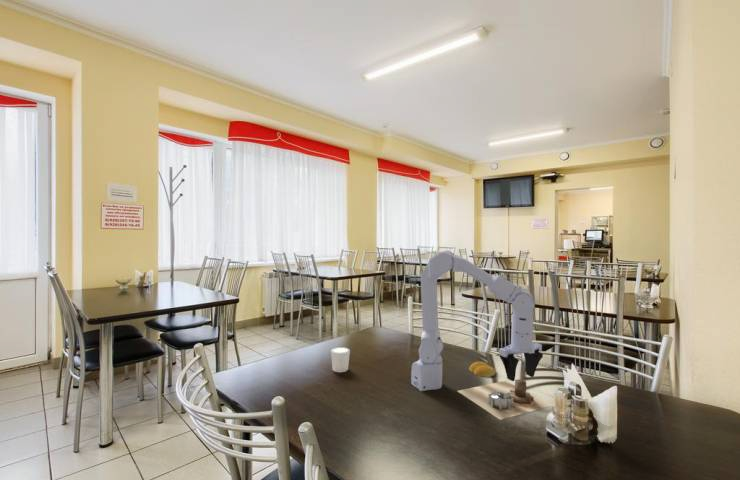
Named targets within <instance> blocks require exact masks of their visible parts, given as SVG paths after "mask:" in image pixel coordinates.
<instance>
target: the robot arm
mask: <svg viewBox="0 0 740 480" xmlns="http://www.w3.org/2000/svg"><path fill="white" fill-rule="evenodd" d="M451 270H452V272H454V273H460V272H461V273H465V274H467V275H468V276H470V277H471V278H473V279H475V280H477V281H479V282H480V283H482V284H484V285H486V286H487V290H488V292H489V293H491V294H493V295H494V296H496V298H499V299H501V300H502V301H504V302H506V303H507V304H512V314H511V330H510V332H511V334H510V337H511V338H510V344H509V345H506V346H504V347H501V348H499V358H500V360H501V361H502V364H503V366H504V367H503V368H504V369H505V373H506V379H507V380H509V381H511V382H515V380H516V372H517V371H516V370H517V366H518V363H519V362H520V359H518V358H516V357H515V356H516V355H520V354H523V355H524V361H525V374H526V375H527V376H528V377H531V378H534V377H535V374H536V371H537V368H538V365H539V363H540V361H541V359H542V358H543V356H544V354H543V353H542V351H543V350H542V349H543V345H542V344H541V343H537V342H533V336H534V317H533V315H534V311H533V309H534V308H535V299H534V296H533V295H532V293H531V292H530V291H528V290H527V289H526V288H523V286H521V285H516V284H515V283H513V282H511V281H510V280H508V277H506V276H505V275H502V276H501V275H499V274H498V275H495V276H493V275H491V274H490V273H488V272H487V271H485V270H483V269H482V268H480V267H479V266H477V265H476V264H474V263H473V262H471V261H469V260H468V259H467V258H465V257H463V256H460V255H459V254H454V253H453V252H452V251H449V250H444V251H440V252H437V253H436V254H434V255H433V256H432V257H431V258H429V260H428V262H427V264H426V266H425V267H424V269H423V271H422V272H421V273H420V290H421V291H420V292H421V294H420V295H421V317H422V320H421V321H422V333H421V337H420V346H419V348H418V356H419V358H418V360H417V361H414V362H412V364H411V373H410V383H411V385H412V386H413V387H414V388H416V389H417V390H418V391H420V392H424V391H431V390H439V389H441V388H442V387H443V357H442V355H441V353H442V351H443V350H444V343H443V340H442V338H441V332H440V330H439V329H440V328H439V314H438V313H439V310H438V288H437V287H438V286H437V285H438V284H437V281H438V280H439V278H441V277H442V276H443V275H444V274H446V273H448V272H450V271H451ZM514 355H515V356H514Z"/></svg>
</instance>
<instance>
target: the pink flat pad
mask: <svg viewBox="0 0 740 480" xmlns="http://www.w3.org/2000/svg"><path fill="white" fill-rule="evenodd" d="M513 404H515V405H518V406H523V407H529V406H533V405H534V400H533V402H531V404H530V405H529V404H522V405H520V404H519V403H516V402H513Z"/></svg>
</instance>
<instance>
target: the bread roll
mask: <svg viewBox="0 0 740 480" xmlns="http://www.w3.org/2000/svg"><path fill="white" fill-rule="evenodd" d="M468 370H469V372H471V373H474V375H475V376H479V377H484V378H491V377H493V376H495V375H496V371H495V368H494V367H492V366H490V365H489V364H488V363H486V362H484V361H475V362H473V363H472V364H470V366H469V369H468Z"/></svg>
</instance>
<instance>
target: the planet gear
mask: <svg viewBox="0 0 740 480" xmlns="http://www.w3.org/2000/svg"><path fill="white" fill-rule="evenodd" d="M514 385H515V391H513V390H510V393H507V394H510V395H511V398H513V402H516V403H519V404H520V405H522V404H529V405H530V404H531V402H533V397H532V396H531V395H530V392H529V393H526V391H527V382H526V381H525V380H523V379H515V380H514Z"/></svg>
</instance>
